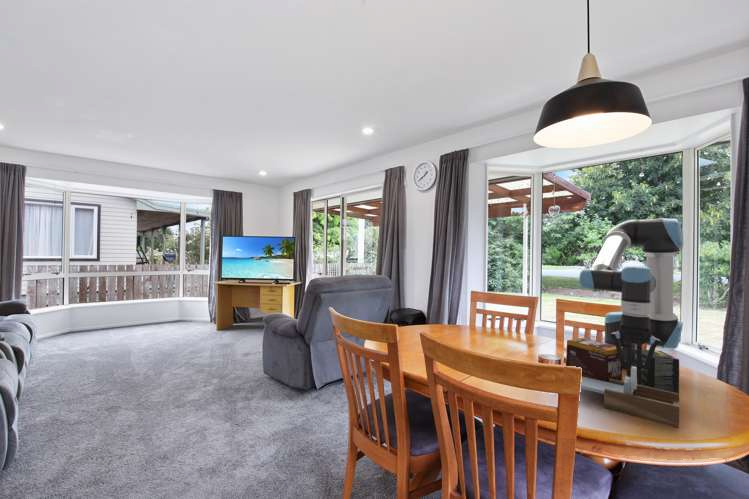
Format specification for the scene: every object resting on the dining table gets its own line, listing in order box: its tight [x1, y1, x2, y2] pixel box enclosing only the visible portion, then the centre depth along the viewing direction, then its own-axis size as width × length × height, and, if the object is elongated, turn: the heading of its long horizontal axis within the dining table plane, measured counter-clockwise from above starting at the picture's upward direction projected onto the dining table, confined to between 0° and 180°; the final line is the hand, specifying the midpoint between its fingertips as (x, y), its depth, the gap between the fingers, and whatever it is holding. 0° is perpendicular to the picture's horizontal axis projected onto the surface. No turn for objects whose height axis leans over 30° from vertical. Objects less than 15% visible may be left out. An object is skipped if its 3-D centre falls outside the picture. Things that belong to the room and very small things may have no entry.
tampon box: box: [633, 348, 680, 403], centre depth 122 cm, size 11×9×15 cm
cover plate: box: [580, 374, 633, 395], centre depth 116 cm, size 10×16×5 cm, turn 50°
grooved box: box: [603, 379, 680, 429], centre depth 110 cm, size 13×18×6 cm
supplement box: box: [565, 337, 623, 382], centre depth 131 cm, size 10×15×16 cm
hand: (633, 387), depth 111 cm, fingers closed
